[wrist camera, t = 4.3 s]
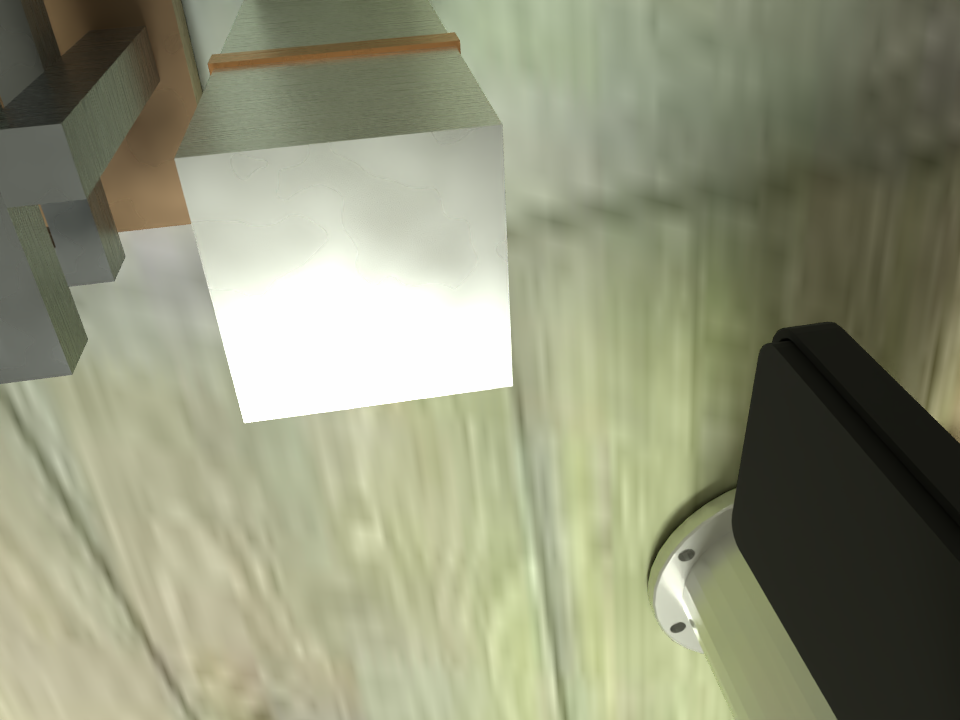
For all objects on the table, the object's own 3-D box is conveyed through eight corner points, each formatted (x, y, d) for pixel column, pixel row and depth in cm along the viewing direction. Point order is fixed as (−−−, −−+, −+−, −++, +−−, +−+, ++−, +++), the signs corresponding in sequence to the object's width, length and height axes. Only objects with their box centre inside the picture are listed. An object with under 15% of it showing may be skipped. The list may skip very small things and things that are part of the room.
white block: (413, -33, 26) (508, 117, 13) (428, 130, 29) (517, 389, 16) (246, -19, 26) (165, 152, 12) (278, 146, 28) (239, 428, 15)
